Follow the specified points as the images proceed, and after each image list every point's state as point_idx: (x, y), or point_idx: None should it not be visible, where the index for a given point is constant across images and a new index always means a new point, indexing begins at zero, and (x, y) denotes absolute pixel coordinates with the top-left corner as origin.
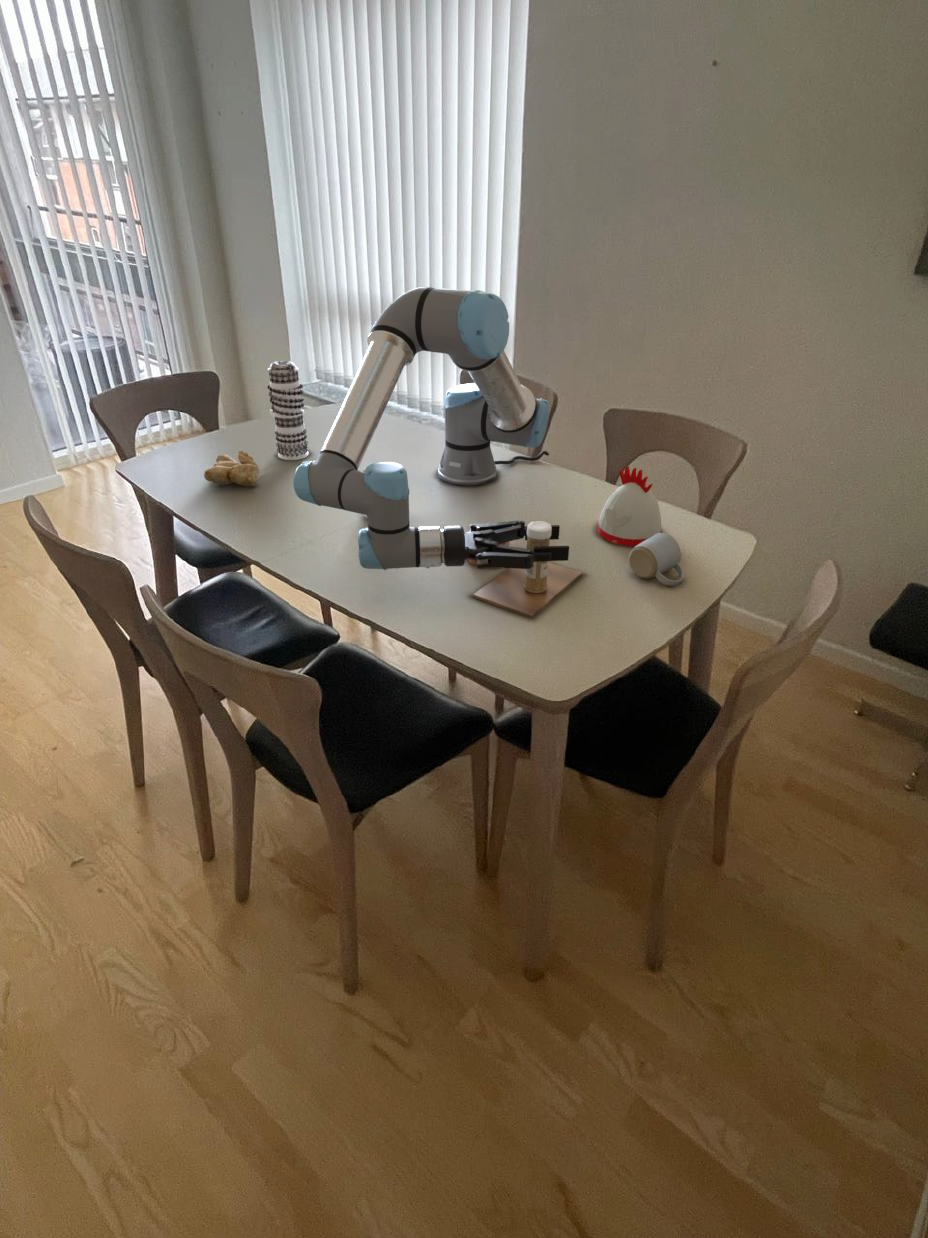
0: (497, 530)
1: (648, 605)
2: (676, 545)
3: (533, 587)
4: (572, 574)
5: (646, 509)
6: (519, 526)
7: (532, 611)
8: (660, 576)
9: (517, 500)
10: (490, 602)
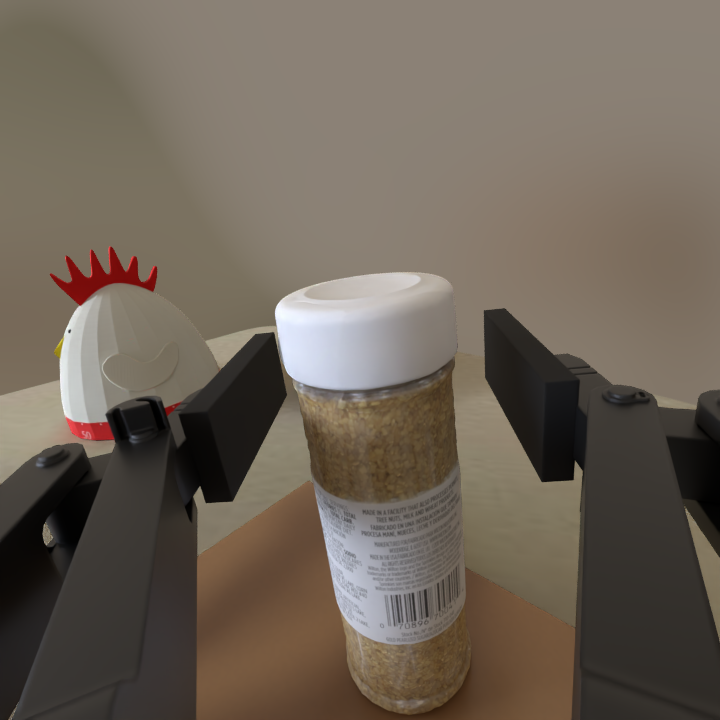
0: (61, 639)
1: (483, 399)
2: None
3: (465, 643)
4: (313, 502)
5: (184, 318)
6: (145, 446)
7: None
8: None
9: None
10: None
